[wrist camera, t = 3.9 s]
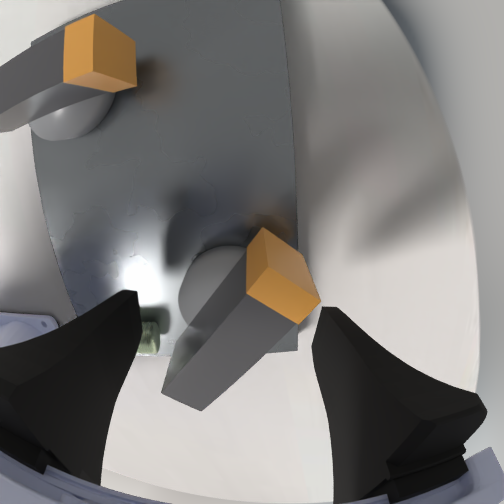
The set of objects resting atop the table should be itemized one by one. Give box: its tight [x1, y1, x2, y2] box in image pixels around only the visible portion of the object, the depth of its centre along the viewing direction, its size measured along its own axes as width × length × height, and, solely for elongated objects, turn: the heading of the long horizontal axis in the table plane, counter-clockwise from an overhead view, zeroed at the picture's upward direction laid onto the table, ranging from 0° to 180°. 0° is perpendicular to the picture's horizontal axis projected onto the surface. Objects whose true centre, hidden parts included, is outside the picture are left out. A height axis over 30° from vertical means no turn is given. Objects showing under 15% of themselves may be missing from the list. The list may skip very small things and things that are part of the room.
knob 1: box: [0, 14, 137, 141], centre depth 7 cm, size 7×4×4 cm, turn 94°
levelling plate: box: [31, 0, 298, 356], centre depth 11 cm, size 12×18×3 cm, turn 4°
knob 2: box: [161, 227, 321, 411], centre depth 11 cm, size 7×4×4 cm, turn 144°
